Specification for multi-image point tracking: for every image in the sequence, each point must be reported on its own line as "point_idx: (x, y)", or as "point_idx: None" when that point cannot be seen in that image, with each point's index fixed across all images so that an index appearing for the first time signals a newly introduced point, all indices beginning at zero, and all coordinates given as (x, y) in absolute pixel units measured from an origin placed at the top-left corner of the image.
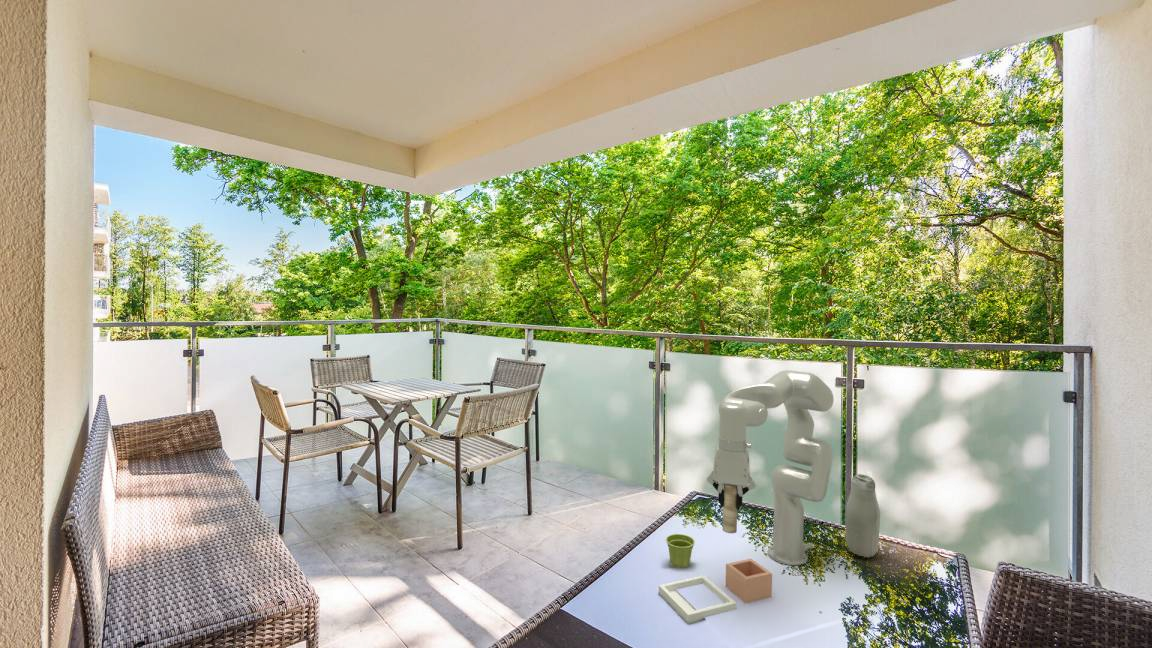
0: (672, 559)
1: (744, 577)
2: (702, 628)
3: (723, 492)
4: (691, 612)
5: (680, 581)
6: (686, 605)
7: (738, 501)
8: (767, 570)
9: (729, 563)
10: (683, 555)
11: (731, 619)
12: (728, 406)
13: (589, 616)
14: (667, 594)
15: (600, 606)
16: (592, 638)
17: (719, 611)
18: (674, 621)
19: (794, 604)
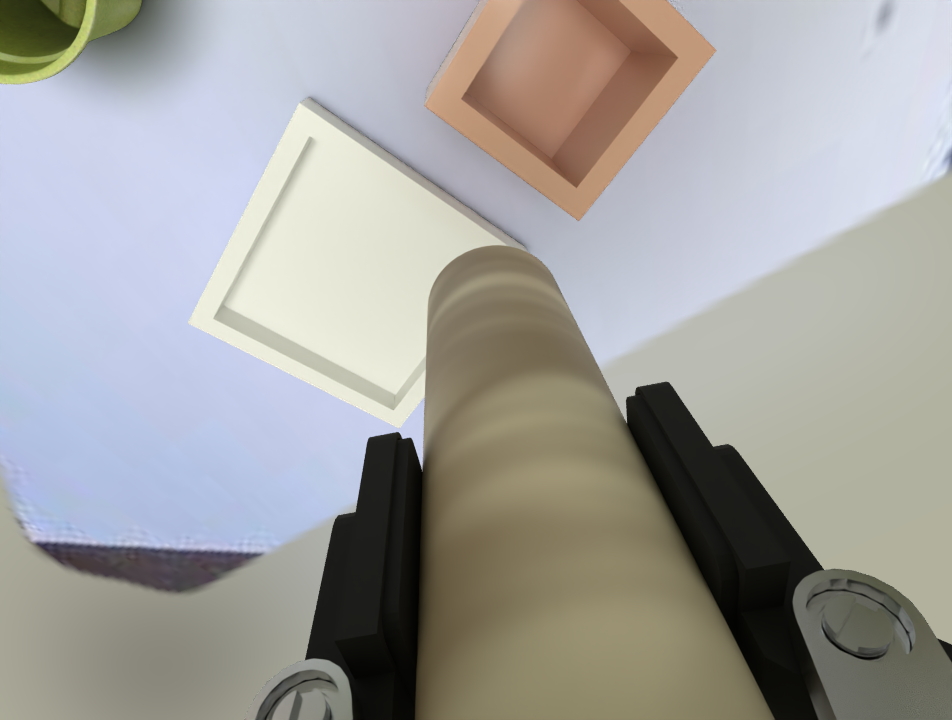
0: (44, 36)
1: (566, 206)
2: None
3: (411, 686)
4: (401, 411)
5: (242, 239)
6: (346, 333)
7: None
8: (685, 25)
9: (441, 84)
10: (96, 31)
11: None
12: None
13: (132, 526)
14: (262, 359)
15: (111, 477)
16: (219, 579)
17: None
18: (356, 417)
19: (766, 19)
